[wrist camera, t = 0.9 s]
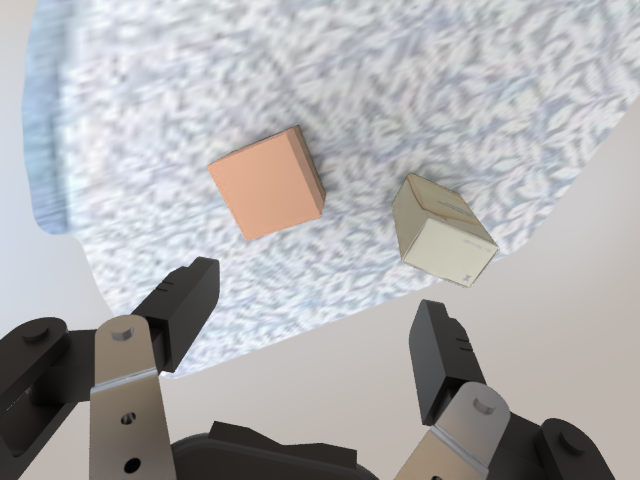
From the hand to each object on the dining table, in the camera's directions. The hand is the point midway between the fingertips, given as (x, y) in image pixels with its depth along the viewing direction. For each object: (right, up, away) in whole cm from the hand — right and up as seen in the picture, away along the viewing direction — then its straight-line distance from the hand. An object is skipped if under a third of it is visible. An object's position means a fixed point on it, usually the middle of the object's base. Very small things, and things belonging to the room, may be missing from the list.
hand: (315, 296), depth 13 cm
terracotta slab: (-5, +8, +20) cm, 22 cm away
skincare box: (+11, +7, +23) cm, 27 cm away
